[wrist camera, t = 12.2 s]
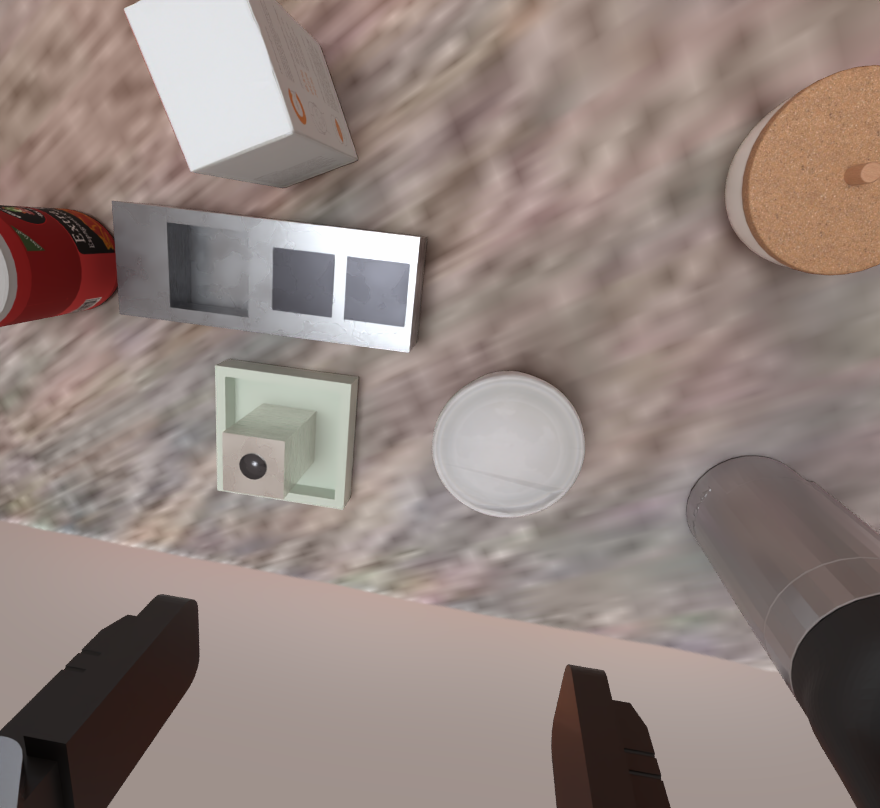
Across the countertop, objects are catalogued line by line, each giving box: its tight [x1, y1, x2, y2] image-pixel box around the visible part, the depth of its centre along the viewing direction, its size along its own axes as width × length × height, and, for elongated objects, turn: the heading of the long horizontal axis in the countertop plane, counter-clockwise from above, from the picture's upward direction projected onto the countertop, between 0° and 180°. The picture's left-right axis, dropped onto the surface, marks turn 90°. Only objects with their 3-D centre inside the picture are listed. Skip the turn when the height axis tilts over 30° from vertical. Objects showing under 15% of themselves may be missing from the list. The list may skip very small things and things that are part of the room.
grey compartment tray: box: [112, 201, 427, 353], centre depth 41 cm, size 22×8×4 cm, turn 84°
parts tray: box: [215, 359, 359, 510], centre depth 46 cm, size 11×11×2 cm
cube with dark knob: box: [222, 403, 317, 499], centre depth 43 cm, size 5×5×7 cm
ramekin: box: [432, 371, 585, 518], centre depth 42 cm, size 11×11×5 cm
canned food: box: [0, 205, 118, 327], centre depth 39 cm, size 8×8×11 cm
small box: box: [124, 0, 358, 188], centre depth 33 cm, size 8×6×13 cm
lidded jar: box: [725, 65, 880, 275], centre depth 33 cm, size 11×11×9 cm
